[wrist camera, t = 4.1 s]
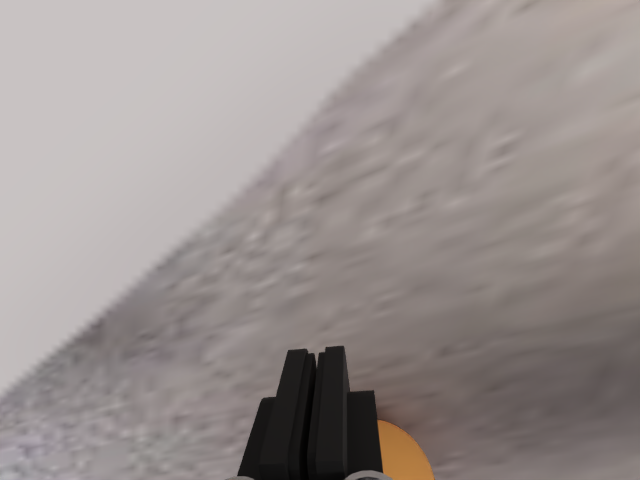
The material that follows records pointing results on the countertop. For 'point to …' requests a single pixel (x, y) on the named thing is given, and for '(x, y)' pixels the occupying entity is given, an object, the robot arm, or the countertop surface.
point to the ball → (402, 454)
